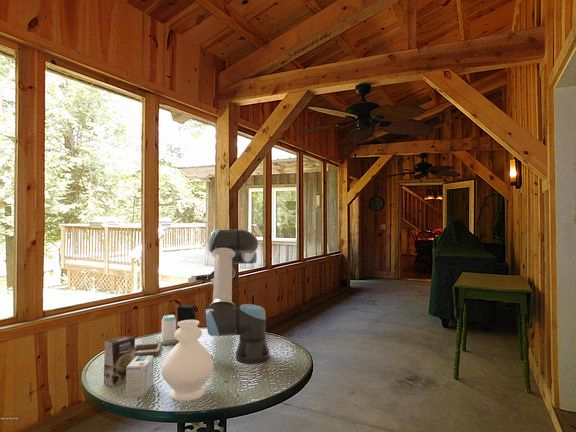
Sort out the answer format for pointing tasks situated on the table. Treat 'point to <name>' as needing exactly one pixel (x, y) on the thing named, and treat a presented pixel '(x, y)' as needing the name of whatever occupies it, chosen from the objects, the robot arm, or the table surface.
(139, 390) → the light bulb box
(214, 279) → the robot arm
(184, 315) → the portable radio
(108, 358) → the coffee box
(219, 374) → the table surface
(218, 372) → the table surface
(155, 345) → the frame
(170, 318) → the can
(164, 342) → the dock pad
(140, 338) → the table surface
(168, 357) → the decorative vase
